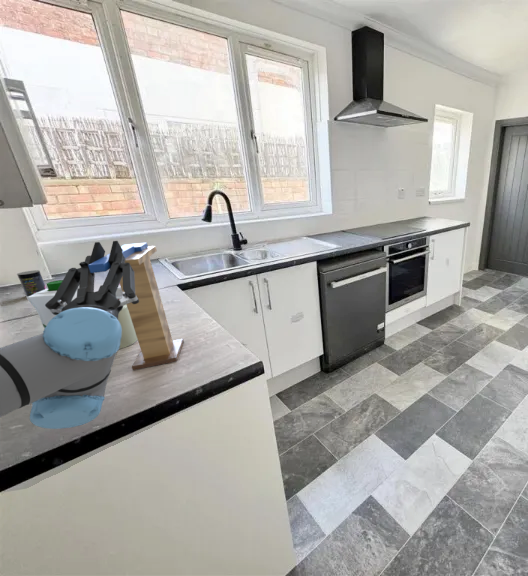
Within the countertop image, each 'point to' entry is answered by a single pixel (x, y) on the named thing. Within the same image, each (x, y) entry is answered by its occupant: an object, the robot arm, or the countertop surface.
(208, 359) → the countertop surface
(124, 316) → the can
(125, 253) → the blue long flat bar
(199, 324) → the countertop surface
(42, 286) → the supplement container
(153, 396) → the countertop surface
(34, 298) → the milk carton
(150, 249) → the stand
